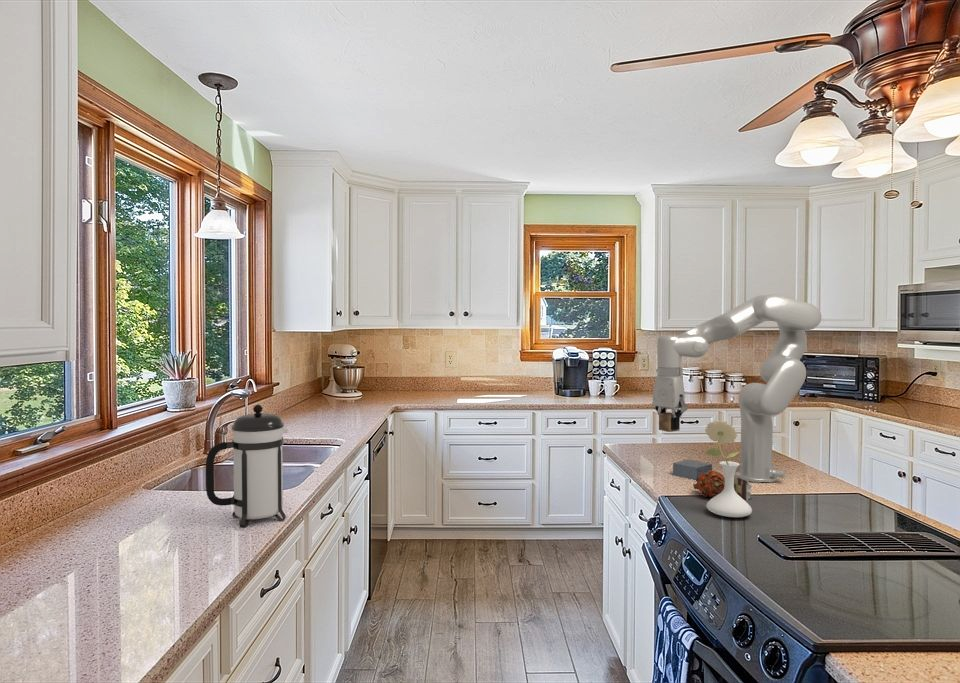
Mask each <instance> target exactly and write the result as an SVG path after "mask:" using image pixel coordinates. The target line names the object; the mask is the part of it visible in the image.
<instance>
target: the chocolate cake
mask: <svg viewBox="0 0 960 683" xmlns="http://www.w3.org/2000/svg"><path fill="white" fill-rule="evenodd" d="M751 488H752V484H750V481H746V480H743V479H740V478H737V477H736V476H734V490H735V492H736V493H737V494H738V495H739V496H740V497H741V498H742V499H743V500H748V498H750V497H751V495H752V492H751ZM748 501H749V500H748Z"/></svg>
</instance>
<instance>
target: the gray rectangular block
mask: <svg viewBox="0 0 960 683" xmlns="http://www.w3.org/2000/svg"><path fill="white" fill-rule="evenodd" d="M709 470H712V471H713V464H712V463H710V462H709V463H708V462H704V461H700V460H699V461H698V460H694V459H684V460H681V461H676V462H673V463H672V475H673V476H674V475H675V477H678V476H679V478H683V477H684V479H687V478H688V479H687V480H691V479H693V480H692V481H695V480H696V479H697V477H698V476H700V475H701V474H703V473H707V472H708V471H709Z"/></svg>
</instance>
